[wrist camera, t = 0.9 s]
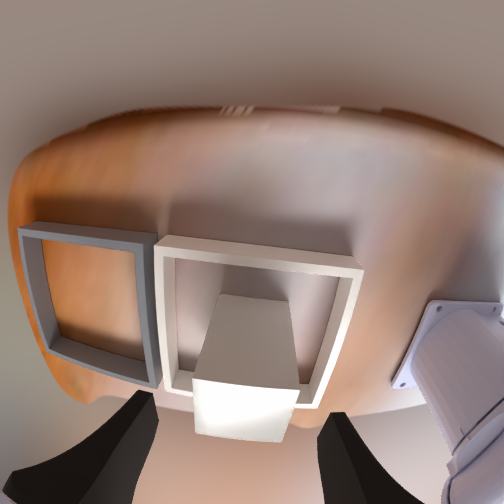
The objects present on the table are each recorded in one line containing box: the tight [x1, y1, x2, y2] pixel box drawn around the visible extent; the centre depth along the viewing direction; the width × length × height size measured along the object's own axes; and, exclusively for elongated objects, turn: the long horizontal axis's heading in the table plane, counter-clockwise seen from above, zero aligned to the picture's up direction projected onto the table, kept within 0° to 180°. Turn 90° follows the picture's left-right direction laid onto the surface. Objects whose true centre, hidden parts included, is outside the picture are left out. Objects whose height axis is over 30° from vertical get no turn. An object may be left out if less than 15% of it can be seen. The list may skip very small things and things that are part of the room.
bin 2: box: [154, 235, 364, 408], centre depth 15 cm, size 10×10×2 cm
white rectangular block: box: [192, 294, 300, 442], centre depth 13 cm, size 4×4×7 cm
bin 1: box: [17, 221, 163, 389], centre depth 15 cm, size 10×10×2 cm
